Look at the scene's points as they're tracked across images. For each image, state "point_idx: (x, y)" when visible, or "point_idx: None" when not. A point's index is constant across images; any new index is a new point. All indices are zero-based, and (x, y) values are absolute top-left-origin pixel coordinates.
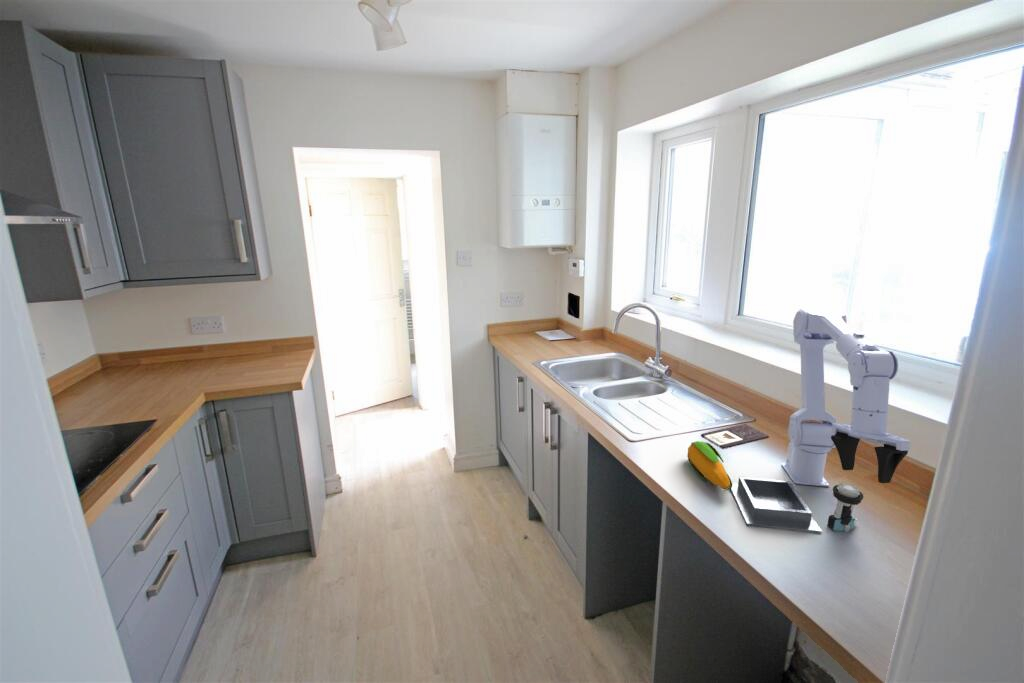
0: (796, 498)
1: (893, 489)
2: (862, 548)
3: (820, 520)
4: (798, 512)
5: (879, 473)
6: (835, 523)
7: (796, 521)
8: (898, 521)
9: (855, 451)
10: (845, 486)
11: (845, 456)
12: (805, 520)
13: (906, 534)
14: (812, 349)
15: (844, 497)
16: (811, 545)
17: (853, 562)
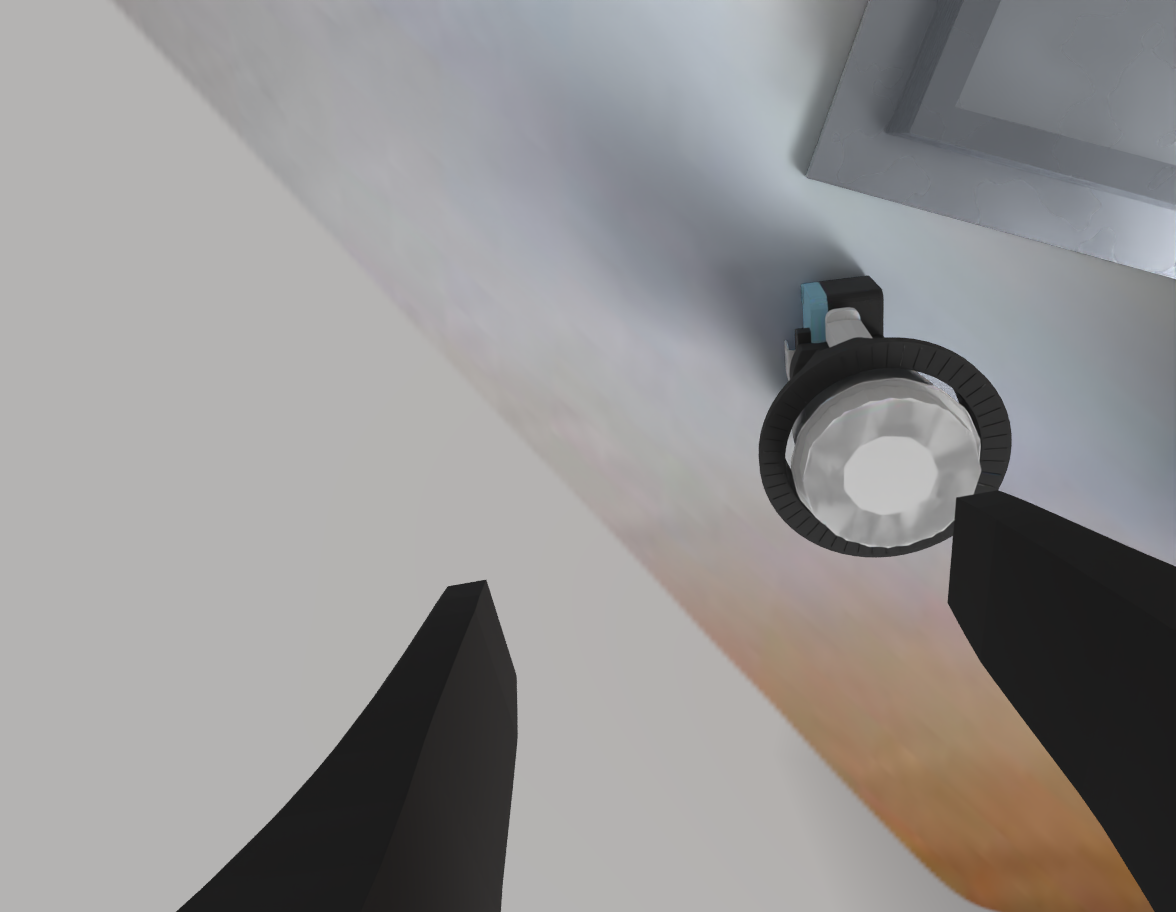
0: (1160, 163)
1: (1048, 865)
2: (642, 331)
3: (929, 271)
4: (958, 11)
5: (433, 650)
6: (815, 291)
7: (933, 19)
8: (808, 675)
9: (1131, 864)
10: (921, 466)
11: (1106, 636)
12: (910, 92)
13: (712, 627)
14: None
15: (814, 362)
16: (707, 6)
17: (540, 186)
